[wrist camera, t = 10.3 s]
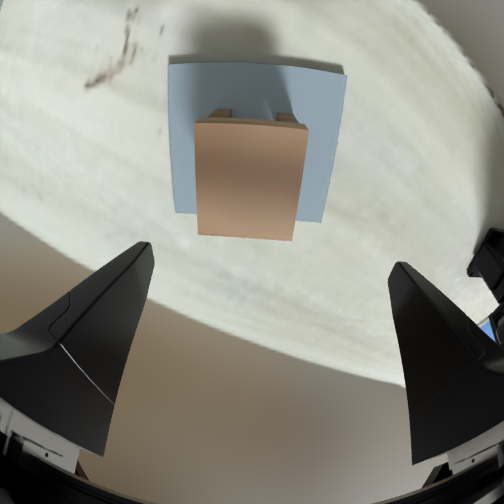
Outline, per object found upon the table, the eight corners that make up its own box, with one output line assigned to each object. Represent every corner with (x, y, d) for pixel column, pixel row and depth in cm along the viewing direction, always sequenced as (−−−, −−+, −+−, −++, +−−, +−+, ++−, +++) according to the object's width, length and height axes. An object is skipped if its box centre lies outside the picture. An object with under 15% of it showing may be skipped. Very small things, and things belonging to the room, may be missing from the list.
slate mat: (344, 75, 14) (347, 75, 13) (319, 218, 21) (320, 222, 20) (171, 64, 14) (168, 64, 13) (177, 209, 21) (175, 212, 20)
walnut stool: (285, 194, 19) (291, 241, 15) (213, 190, 19) (198, 234, 15) (295, 111, 15) (309, 130, 11) (214, 106, 15) (194, 123, 11)
